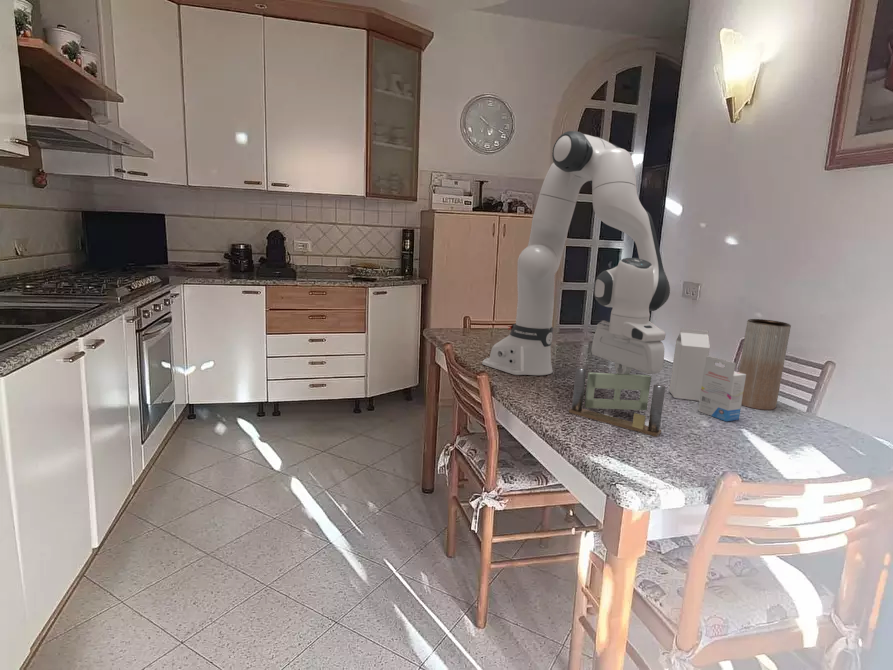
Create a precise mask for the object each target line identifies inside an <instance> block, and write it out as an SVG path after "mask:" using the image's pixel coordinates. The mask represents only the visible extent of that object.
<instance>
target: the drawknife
mask: <svg viewBox="0 0 893 670" xmlns="http://www.w3.org/2000/svg"><path fill="white" fill-rule="evenodd" d="M586 375H587V368H585V367H580V366H579V367H575V375H574V385H573V393H572V395H573V396H572V404H571V408H569V409H568V413H570V414H571V415H572V414H573V415H576V416H580V417H583V418H588V419H591V420H594V421H598V422H601V423H604V424H608V425H612V426H616V427H618V428H624V429H627V430H630V431H633V432H637V433H640V434H645V435H648V436H652V437H658V436H659V435H661V433H662V429H661V421H662V414H663V407H664V399H665V392H666V386H665V385H663V384H658V383H657V384H656V383H655V384H653V387H652V388H653V389H652V395H651V403H650V410H649V416H648V425H646V419H647V416H646V415H643V414H640V413H637V412H636V413H633V419H632V421H630V420H627V419H622V418H620V417H619V418H618V417H616V416H612V415H607V414H604V413H600V412H597V411H593V410H589V409H587V408H586V409H585V408H583V401H584V394H585V383H586Z"/></svg>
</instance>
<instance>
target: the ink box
mask: <svg viewBox="0 0 893 670" xmlns="http://www.w3.org/2000/svg"><path fill="white" fill-rule="evenodd" d="M717 363H718V364H721V365H724V366H721V365H717ZM736 366H737V365H736V362H733V361H729V360H726V359H723V358H722V359H721V358H718V357H715V356H710V355H709V356H707V357H706V364H705V368H704V374H703V381H702V388H701V394H700V401H698V402H699V403H698V408H697V411H698V412H700V413H703V414H705V415H708V416H711V417H713V418H716V419H718V420H721V421H724V422H732V421H739V420H740V415H741V408H742V405H741V403H742V397H743V391H744V385H745V379H746V374H743V373H739V371H735V370H736Z"/></svg>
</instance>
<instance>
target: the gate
mask: <svg viewBox="0 0 893 670" xmlns="http://www.w3.org/2000/svg"><path fill="white" fill-rule="evenodd" d="M651 381H652V376H651V375H650V374H631V373H629V374H617V373H614V372H613V373H612V372H611V373H610V372H609V373H608V372H588V373H587V379H586V388H585V396H584V398H585V400H584V405H583V406H584V407H585V408H586V409H600V410H601V409H604V410H605V409H606V410H608V409H609V410H624V411H625V410H632V411H647V410H648V403H649V397H650V390H651ZM595 389H601V390H602V389H604V390H614V391H613V398H612V399H611V398H595V391H596V390H595ZM622 390H625V391H626V390H628V391H639V399H638V400H635V399H634V400H633V399H621V393H622Z"/></svg>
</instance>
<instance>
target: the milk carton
mask: <svg viewBox="0 0 893 670" xmlns="http://www.w3.org/2000/svg"><path fill="white" fill-rule="evenodd" d="M709 337H710V336H709V330H704V329H703V330H702V329H693V328H683V327H682V328H680V331H679V334H678V336H677V338H676V340H675V347H674V354H673V360H672V367H671V375H670V382H669V383H670V384H669V392H670V394H671V396H672V397H673V398H674V399H680V400H687V401H698V402H699V401H700V394H701V388H702V381H703V374H704V368H705V364H706V357H707V356H710V348H711V345H710V339H709Z"/></svg>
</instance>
